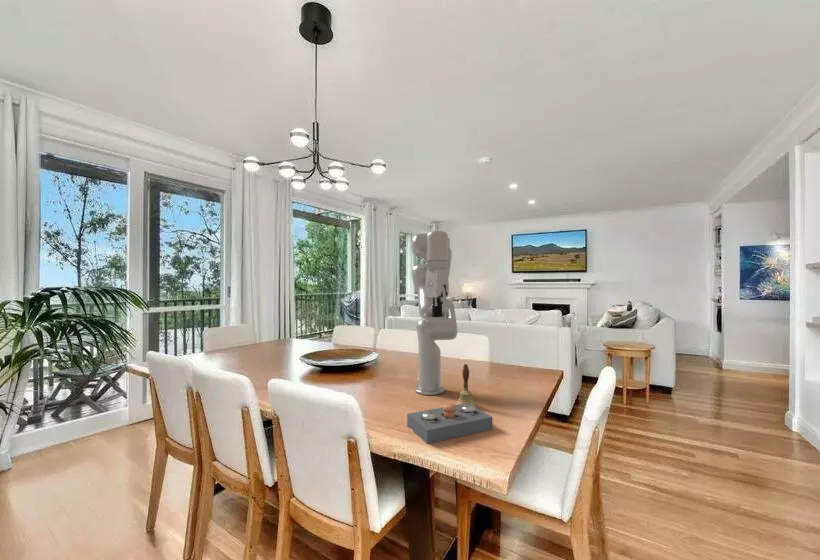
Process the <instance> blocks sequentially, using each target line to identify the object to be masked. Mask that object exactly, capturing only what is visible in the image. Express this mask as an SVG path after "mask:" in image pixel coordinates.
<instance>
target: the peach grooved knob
mask: <svg viewBox="0 0 820 560" xmlns="http://www.w3.org/2000/svg"><path fill="white" fill-rule="evenodd" d="M442 408H443V410H444V417H445V418H447V419H449V418H454V417H455V411H456V405H455V404H454V403H443V404H442Z"/></svg>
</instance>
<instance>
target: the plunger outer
mask: <svg viewBox="0 0 820 560" xmlns="http://www.w3.org/2000/svg"><path fill="white" fill-rule="evenodd" d="M422 418H423V419H424V421H425V422H426V423H429V422H434V421H435V420H436V413H434V412H424V413H423V414H422Z"/></svg>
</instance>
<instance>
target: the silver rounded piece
mask: <svg viewBox="0 0 820 560" xmlns="http://www.w3.org/2000/svg"><path fill="white" fill-rule="evenodd" d="M462 411H463V413H464V414H466V415H470V414H474V412H475V407H474V406H472V405H463V406H462Z"/></svg>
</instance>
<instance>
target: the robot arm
mask: <svg viewBox="0 0 820 560" xmlns="http://www.w3.org/2000/svg"><path fill="white" fill-rule="evenodd" d="M450 245H451V243H450V238H449V235H448V233H447V232H446V231H443V230H433V231H429V232H428V233H426V232H425V233H416V234H414V236H413V237H412V239H411V251H412V254H413V255H414V256H416V257H418V258H419V259H420V260H421V261H422V262H424V263H418V264H416V265H414V266H413V267H412V270H411V277H412V278H411V279H412V283H413V286H414V288H415V291H416V292H417V300H418V312H419V316H420V318H421V319H419V320H418V321H417V323H416V333H417V342H418V378H417V379H416V380H417V382H418V385H415V387H414V391H415V392H416V393H418V394H420V395H423V396H425V395H426V396H435V395H440V394H442V393H444V392H445V387H444V386H442V385H441V366H442V365H441V364H442V363H441V353H442V352H441V349H440V347H439V345H438V344H437V343H436V342H435V341H450V340H451V341H452V340H455V339H456V338H457V336H458V323H457V316H456V311H455V304H454V302H453V301H452V299H451V298H447V297H448V296H449V289H450V288H449V287H450V284H449V276H450V272H451V270H450V269H451V264H452V249H451V246H450Z"/></svg>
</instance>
